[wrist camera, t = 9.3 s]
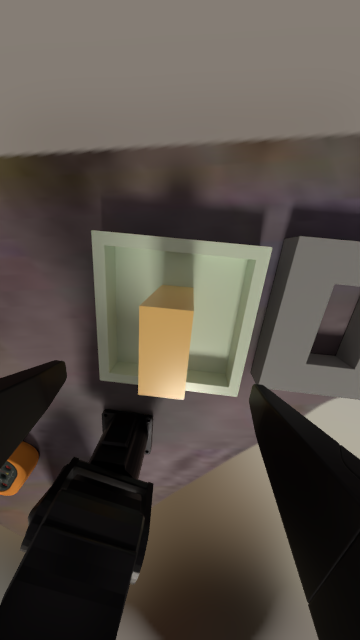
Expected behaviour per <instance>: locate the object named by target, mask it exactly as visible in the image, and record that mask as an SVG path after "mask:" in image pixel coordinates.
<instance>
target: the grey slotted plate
mask: <svg viewBox="0 0 360 640" xmlns="http://www.w3.org/2000/svg"><path fill="white" fill-rule="evenodd" d="M334 284H340V285H350V286H360V242H359V241H348V240H337V239H326V238H316V237H305V236H297V237H292V238H287V239H284V243H283V247H282V251H281V255H280V259H279V263H278V267H277V271H276V275H275V279H274V283H273V287H272V291H271V294H270V298H269V302H268V306H267V310H266V314H265V318H264V322H263V326H262V330H261V334H260V338H259V342H258V346H257V350H256V354H255V358H254V362H253V366H252V370H251V375H252V377H253V379H254V381H255V383H256V384H261V385H264V386H265V387H267V388H268V389H274V390H282V391H291V392H299V393H307V394H316V395H324V396H333V397H341V398H350V399H358V400H360V298H359V301H358V303H357V305H356V308H355V310H354V313H353V315H352V317H351V320H350V322H349V325H348V327H347V330H346V332H345V334H344V337H343V339H342V342H341V344H340V346H339V349H338V351H337V354H336V356H331V355H322V354H313V353H310V351H311V348H312V345H313V343H314V340H315V337H316V334H317V332H318V329H319V326H320V323H321V321H322V318H323V315H324V312H325V309H326V307H327V304H328V301H329V298H330V296H331V293H332V290H333V287H334Z"/></svg>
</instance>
